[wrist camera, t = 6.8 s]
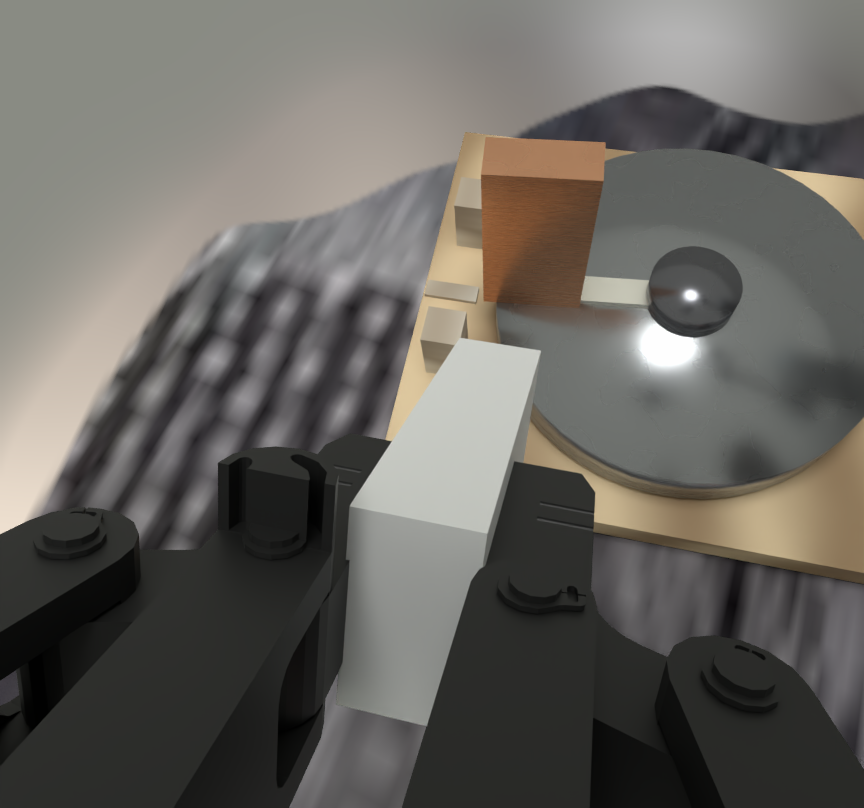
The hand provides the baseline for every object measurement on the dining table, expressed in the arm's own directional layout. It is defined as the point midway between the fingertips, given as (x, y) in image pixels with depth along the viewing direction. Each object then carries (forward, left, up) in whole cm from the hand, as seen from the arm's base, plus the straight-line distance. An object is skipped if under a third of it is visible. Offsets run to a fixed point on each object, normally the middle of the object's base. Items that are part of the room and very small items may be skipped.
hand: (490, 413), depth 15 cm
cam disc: (-6, -13, -17) cm, 22 cm away
